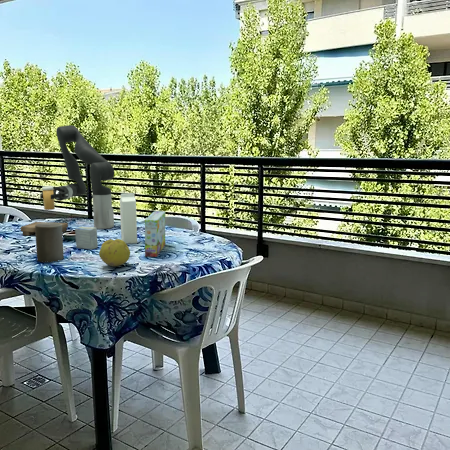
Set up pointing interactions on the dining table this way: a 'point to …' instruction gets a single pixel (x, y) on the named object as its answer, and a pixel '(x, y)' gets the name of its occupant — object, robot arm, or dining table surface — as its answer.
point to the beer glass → (48, 198)
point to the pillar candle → (49, 241)
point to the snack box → (154, 233)
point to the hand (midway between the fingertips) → (46, 196)
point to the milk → (128, 218)
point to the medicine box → (86, 237)
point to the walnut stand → (30, 228)
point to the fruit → (114, 252)
